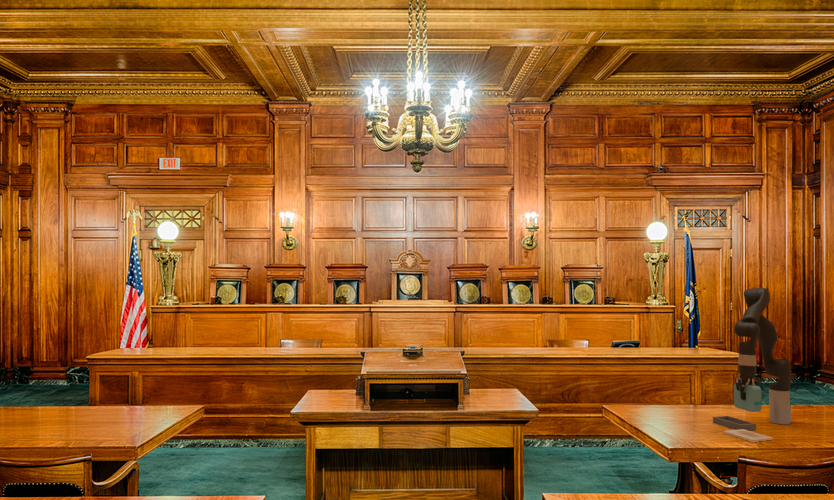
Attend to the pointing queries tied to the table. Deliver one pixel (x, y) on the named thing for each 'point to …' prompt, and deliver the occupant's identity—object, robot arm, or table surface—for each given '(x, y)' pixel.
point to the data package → (748, 398)
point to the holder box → (734, 423)
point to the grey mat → (747, 435)
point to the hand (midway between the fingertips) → (747, 399)
